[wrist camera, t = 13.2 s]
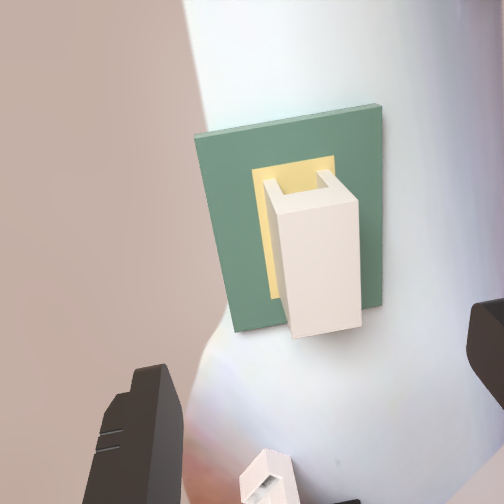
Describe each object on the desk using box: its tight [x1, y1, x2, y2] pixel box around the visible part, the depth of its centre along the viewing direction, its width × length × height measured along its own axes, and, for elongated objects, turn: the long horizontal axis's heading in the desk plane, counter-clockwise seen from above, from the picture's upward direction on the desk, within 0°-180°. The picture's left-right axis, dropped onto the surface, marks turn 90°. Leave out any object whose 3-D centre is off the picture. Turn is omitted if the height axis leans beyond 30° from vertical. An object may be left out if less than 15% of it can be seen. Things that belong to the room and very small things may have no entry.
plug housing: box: [263, 169, 362, 339], centre depth 32 cm, size 10×5×7 cm, turn 8°
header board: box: [194, 103, 382, 333], centre depth 34 cm, size 18×14×4 cm
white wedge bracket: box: [239, 448, 300, 504], centre depth 47 cm, size 4×10×9 cm, turn 148°
